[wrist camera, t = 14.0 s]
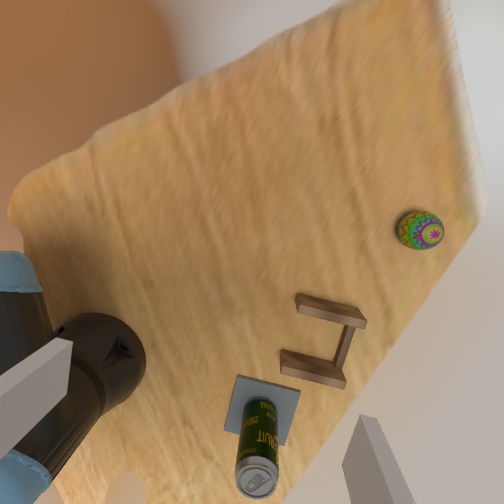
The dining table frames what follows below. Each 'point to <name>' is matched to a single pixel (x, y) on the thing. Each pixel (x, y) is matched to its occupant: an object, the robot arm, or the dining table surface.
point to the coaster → (254, 388)
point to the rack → (329, 370)
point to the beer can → (258, 450)
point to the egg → (420, 230)
